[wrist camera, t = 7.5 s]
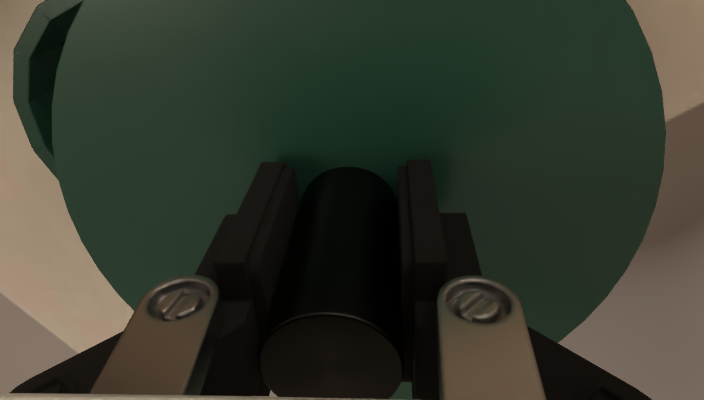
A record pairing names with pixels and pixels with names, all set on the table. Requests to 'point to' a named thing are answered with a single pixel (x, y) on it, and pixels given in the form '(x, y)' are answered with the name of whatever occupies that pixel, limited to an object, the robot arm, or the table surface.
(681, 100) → the table surface
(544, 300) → the lid
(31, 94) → the pot
